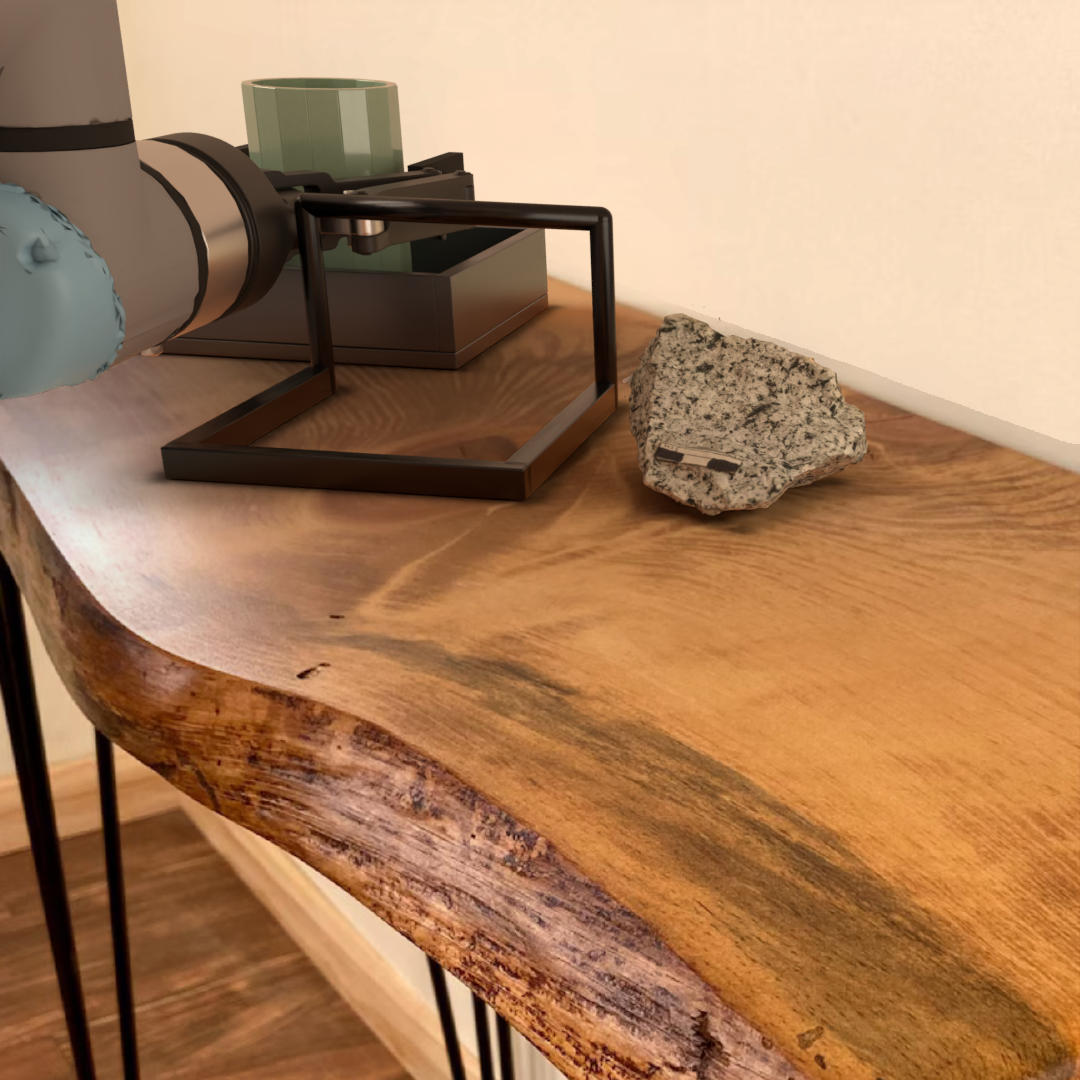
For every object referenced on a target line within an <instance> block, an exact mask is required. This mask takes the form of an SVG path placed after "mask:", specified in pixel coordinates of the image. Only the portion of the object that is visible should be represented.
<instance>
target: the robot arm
mask: <svg viewBox="0 0 1080 1080" xmlns="http://www.w3.org/2000/svg"><path fill="white" fill-rule="evenodd" d="M130 95H131V94H130V88H129V81H128V74H127V66H126V58H125V53H124V46H123V38H122V31H121V22H120V16H119V9H118V2H117V0H0V401H6V400H13V399H15V400H16V399H22V398H28V397H32V396H35V395H38V394H41V393H45V392H48V391H51V390H54V389H55V390H56V389H58V388H62V387H75V386H79V385H81V384H85V383H86V381H87V380H89V381H93V380H95V379H97V378H99V377H100V375H102V374H103V373H105V372H106V371H109V369H110V368H112V367H113V366H116V365H118V364H120V363H122V362H124V361H126V360H128V359H130V358H133V357H134V356H137V355H139V354H140V355H142V356H143V357H151V358H156V357H158V356H159V355H161V354H163V353H162V352H163V346H162V344H163V343H165V342H166V341H169V340H171V339H173V338H176V337H178V336H180V335H182V334H185V333H187V332H189V331H192V330H194V329H196V328H199V327H201V326H203V325H206V324H209V323H212V322H216V321H218V320H220V319H223V318H225V317H227V316H230V315H232V314H234V313H236V312H239V311H241V310H243V309H246V308H248V307H250V306H252V305H253V304H255V303H256V302H258V301H259V300H260V299H262V298H263V297H264V296H265V295H266V294H267V293H268V292H269V290H270V289H271V288H272V287H273V285H274V284H275V282H276V281H277V279H278V277H279V275H280V273H281V271H282V269H283V266H284V264H285V262H287V261H290V260H291V259H292V258H293V257H294V256H295V255H298V254H299V247H298V238H297V228H296V219H295V210H294V200H295V198H296V196H297V195H299V194H300V193H303V192H301V191H299V190H297V189H295V188H293V187H297V186H303V188H304V193H324V194H345V195H366V196H387V197H408V198H429V199H450V200H471V201H476V194H475V193H476V192H475V182H474V181H475V179H474V173H472V172H470V171H467V170H465V161H464V152H462V151H461V152H459V151H448V152H444V153H441V154H438V155H435V156H432V157H429V158H426V159H422V160H419V161H417V162H413V163H411V164H408V165H406V168H407V171H404V172H398V173H388V174H378V175H367V176H357V177H347V178H336V179H332V177H331V176H330V175H329V174H328V173H325V172H319V171H312V170H298V171H287V172H281V171H276V170H270V169H263V168H259V167H258V166H257V165H256V164H255V163H254V162H253V161H252V160H251V159H250V156H249V147H248V143H245V144H241V145H237V146H234V145H233V144H231V143H229V142H227V141H225V140H223V139H221V138H218V137H215V136H213V135H209V134H205V133H200V132H193V131H191V132H190V131H186V132H185V131H183V132H173V133H170V134H169V133H168V134H164V135H160V136H154V137H150V138H145V139H141V140H139V139H137V140H136V134H135V127H134V120H133V111H132V103H131V96H130ZM319 219H320V229H321V239H322V248H323V251H328V250H333V249H335V248H336V247H337V245H338V242H339V240H340V239H341V238H342V237H347V242H348V246H349V247H350V248H352V252H355V253H356V254H361V255H372V253H377V252H380V251H381V250H383V249H385V248H387V247H389V246H392V245H397V244H402V243H406V242H411V241H415V240H420V239H425V238H430V239H435V240H441V241H444V240H446V234H448V233H452V232H457V231H467V230H470V229H471V228H475V227H477V225H456V224H436V223H415V222H395V221H374V220H353V219H333V218H319Z"/></svg>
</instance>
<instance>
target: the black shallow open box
mask: <svg viewBox="0 0 1080 1080" xmlns="http://www.w3.org/2000/svg"><path fill="white" fill-rule="evenodd" d="M546 246H547V244H546V229H539V228H518V227H497V226H477V227H475V228H471V229H470V230H467V231H457V232H452V233H448V234H446V240H444V241H441V240H435V239H430V238H425V239H420V240H415V241H411V242H410V247H411V259H412V272H401V271H381V270H362V269H342V268H325V278H326V287H327V297H328V307H329V317H330V326H331V336H332V346H333V356H334V364H349V365H350V364H351V365H352V364H353V365H369V366H387V367H406V368H423V369H439V370H440V369H441V370H442V369H443V370H458V369H459V368H461V367H462V366H464V365H466V364H467V363H468V362H470V361H471V360H473V359H474V358H475V357H478V356H479V355H480V354H481V353H483V352H485V351H486V350H488V349H489V348H490V347H492V346H494V345H495V344H496V343H498V342H499V341H501V340H502V339H504V338H505V337H506V336H508V335H510V334H511V333H513V332H514V331H516V330H517V329H518V328H520V327H522V326H523V325H524V324H525V323H528V322H529V321H530V320H532V319H533V318H534V317H536V316H537V315H538V314H539V315H540V313H542V312H543V311H545V310H547V309H548V308H549V294H548V293H549V288H548V287H549V286H548V285H549V284H548V268H547V267H548V266H547V265H548V264H547V247H546ZM162 346H163V352H162V353H161V354H174V355H190V356H209V357H210V356H211V357H226V358H228V357H229V358H244V359H246V358H247V359H260V360H261V359H263V360H278V361H279V360H281V361H297V362H299V361H300V362H311V357H310V348H309V339H308V330H307V321H306V311H305V302H304V293H303V284H302V274H301V266H283V269H282V271H281V273H280V275H279V277H278V279H277V281H276V282H275V284H274V285H273V287H272V288H271V289H270V290H269V292H268V293H267V294H266V295H265V296H264V297H263V298H262V299H260V300H259V301H258V302H256V303H255V304H253V305H252V306H250V307H248V308H246V309H243V310H241V311H239V312H236V313H234V314H232V315H230V316H227V317H225V318H223V319H220V320H218V321H216V322H212V323H209V324H206V325H203V326H201V327H199V328H196V329H194V330H192V331H189V332H187V333H185V334H182V335H180V336H178V337H176V338H173V339H171V340H169V341H166V342H165V343H163V344H162Z"/></svg>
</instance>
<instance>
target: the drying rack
mask: <svg viewBox="0 0 1080 1080" xmlns="http://www.w3.org/2000/svg"><path fill="white" fill-rule="evenodd" d="M294 210H295V219H296V228H297V238H298V247H299V256H300V265H301V274H302V284H303V293H304V302H305V311H306V321H307V330H308V339H309V348H310V357H311V361H310V366H307V367H305V368H303V369H301V370H299V371H297V372H296V373H294V374H291V375H290V376H288V377H286V378H285V379H283V380H281V381H279V382H277V383H275V384H274V385H272V386H270V387H268V388H266V389H264V390H263V391H261V392H259V393H257V394H255V395H253V396H251V397H250V398H248V399H246V400H245V401H242V402H241V403H238V404H237V405H235V406H234V407H231V408H230V409H227V410H226V411H224V412H222V413H220V414H219V415H216V416H215V417H213V418H211V419H210V420H208V421H205V422H204V423H202V424H200V425H199V426H196V427H195V428H193V429H191V430H189V431H187V432H186V433H184V434H182V435H181V436H179V437H176V438H175V439H173V440H171V441H169V442H167V443H166V444H165V445H163V446H161V447H160V454H161V461H162V468H163V469H162V470H163V475H164V478H165V479H172V480H173V479H174V480H189V481H204V482H205V481H207V482H221V483H222V482H223V483H237V484H254V485H268V486H269V485H271V486H284V487H285V486H287V487H303V488H316V489H317V488H318V489H333V490H350V491H365V492H383V493H395V494H396V493H397V494H398V493H399V494H400V493H401V494H414V495H415V494H416V495H427V496H428V495H429V496H431V495H432V496H444V497H445V496H446V497H464V498H476V499H477V498H478V499H495V500H509V501H510V500H511V501H526V500H527V499H528V498H529V497H530V496H531V495H533V494H534V493H535V491H536V490H537V489H538V488H540V486H541V485H543V483H544V482H545V481H546V480H548V478H549V477H550V476H551V475H552V474H553V473H554V472H555V471H556V470H558V468H559V467H560V466H561V465H563V463H564V462H565V461H566V460H567V459H568V458H569V457H570V456H571V455H572V454H573V453H574V452H575V451H576V450H577V449H578V448H579V447H580V446H581V445H583V443H584V442H585V441H586V440H587V439H588V438H589V437H590V436H591V435H592V434H593V433H594V432H596V430H597V429H598V428H599V427H600V426H601V425H602V424H603V423H605V421H606V420H608V418H609V417H610V416H612V414H614V412H615V411H616V410H617V409H619V380H618V379H619V377H618V375H619V374H618V345H617V344H618V343H617V312H616V311H617V310H616V309H617V307H616V281H615V280H616V277H615V250H614V248H615V246H614V245H615V244H614V219H613V217H614V216H613V214H612V212H611V210H609V209H608V208H607V207H605V206H598V205H597V206H594V205H576V204H575V205H573V204H553V203H535V202H534V203H531V202H510V201H492V200H490V201H489V200H475V201H471V200H450V199H429V198H408V197H387V196H366V195H345V194H324V193H300V194H299V195H297V196H296V198H295V200H294ZM319 218H333V219H353V220H374V221H395V222H415V223H436V224H456V225H477V226H497V227H518V228H539V229H545V230H562V231H563V230H564V231H580V232H581V231H582V232H589V251H590V252H589V254H590V256H589V257H590V281H591V305H592V306H591V309H592V310H591V312H592V330H593V331H592V336H593V364H594V365H593V366H594V367H593V368H594V382H592V383H591V384H590V385H588V386H587V387H586V388H585V389H584V390H583V391H582V392H581V393H579V395H578V396H577V397H575V398H574V399H573V400H572V401H571V402H570V403H569V404H567V405H566V406H565V407H564V408H563V409H562V410H561V411H559V412H558V413H557V414H556V415H555V416H554V417H553V418H552V419H550V421H548V422H547V423H546V424H545V425H544V426H542V428H541V429H540V430H539V431H537V432H536V433H535V434H534V435H533V436H532V437H531V438H530V439H528V440H527V441H526V442H525V443H524V444H523V445H522V446H521V447H519V448H518V449H517V450H516V451H515V452H514V453H513V454H512V455H511V456H510V457H508V459H506V460H505V461H504V460H503V461H502V460H487V459H471V458H470V459H469V458H451V457H437V456H423V455H421V456H419V455H406V454H405V455H403V454H390V453H389V454H388V453H373V452H371V453H370V452H353V451H338V450H319V449H304V448H287V447H274V446H273V447H272V446H270V447H269V446H255V445H250V444H251V443H253V442H255V441H256V440H258V439H260V438H261V437H263V436H265V435H267V434H268V433H270V432H272V431H273V430H275V429H276V428H278V427H280V426H281V425H283V424H284V423H286V422H288V421H290V420H292V419H293V418H294V417H297V416H299V415H300V414H301V413H303V412H305V411H306V410H308V409H310V408H311V407H313V406H315V405H316V404H318V403H320V402H321V401H323V400H325V399H327V398H328V397H330V396H331V395H333V394H332V393H335V392H337V390H338V385H337V377H336V367H335V363H334V356H333V346H332V336H331V326H330V317H329V307H328V297H327V287H326V278H325V268H324V258H323V248H322V239H321V229H320V219H319Z"/></svg>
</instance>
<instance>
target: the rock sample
mask: <svg viewBox="0 0 1080 1080" xmlns="http://www.w3.org/2000/svg"><path fill="white" fill-rule="evenodd" d="M691 305H692V306H693V305H694V304H691ZM704 308H705V306H703V309H704ZM717 318H718V321H719V322H721V317H717ZM655 335H656V336H654V337H652V338H651V339H649V341H648V344H647V347H646V348H645V350H644V353H642V354H640V356H639V357H638V358H637V362H639V361H640V363H639V364H638V366H637V368H635V369H634V370H633V371H631V372H630V375H628V376H627V377H625V378H623V379H621V381H622V383H623V384H628V387H629V388H630V394H628V418H627V420H628V421H629V423H630V425H629V427H628V429H629V431H630V434H631V436H632V437H634V439H635V442H636V443H635V444H636V448H637V457H636V461H637V463H638V468H639V470H640V471H641V473H642V483H643V484H644V486H645V487H647V488H650V489H651V490H653V491H655V492H656V493H662V494H663V495H665V496H667V497H668V498H671V499H673V500H674V501H675V502H676V503H678V502H680V505H681V506H683V505H685V506H689V507H692V508H695V509H697V510H698V511H699V512H701V513H702V515H708V516H716V515H719V514H721V513H723V512H724V511H726V512H727V511H728V512H729V511H734V510H735V511H740V510H741V511H742V510H745V511H748V510H756V509H758V508H759V509H767V508H769V507H770V506H771V505H772V504H773V503H775V502H777V501H778V500H779V499H780V498H781V496H782V495H783V494H784V493H785V492H786V491H787V490H788V489H793V488H797V487H804V486H809V485H811V484H812V483H813V482H814V483H815V482H817V481H820V480H822V479H824V478H826V477H830V476H832V475H837V474H840V473H842V472H843V471H845V470H846V469H849V468H850V467H852V466H855V465H857V464H859V463H860V462H862V461H863V460H864V458H865V457H864V456H865V455H867V453H868V446H869V445H868V441H867V430H866V418H865V415H866V412H865V411H863V410H861V409H860V408H858V406H855V405H854V404H853V403H848V402H846V400H845V397H844V396H843V393H842V388H841V386H840V384H839V381H838V376H837V375H838V374H837V372H835V371H834V370H833V369H831V368H830V367H826V366H824V365H821V364H820V363H818V362H816V360H815V358H814V357H810V356H806V355H803V354H800V353H797V352H793V351H790V350H789V349H788V348H787V347H784V346H780V345H778V344H776V343H775V342H772V341H765V340H760V339H757V338H753V337H749V338H743V337H741V336H737V335H735V334H731V335H729V334H728V335H727V336H726V335H724V334H722V333H720V332H719V331H716V330H715V329H713V328H712V327H711V326H710V324H708V322H705V321H702V320H699V319H698V318H694V317H693V316H689V315H687V314H684V312H683V313H681V312H679V313H678V312H677V313H672V314H669V315H666V316H664V317H663V319H662V320H661V323H660V326H659V327H658V328H657V329H656V330H655ZM623 398H626V395H624V396H623ZM873 452H874V450H872V451H871V452H870V454H872V453H873Z"/></svg>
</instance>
